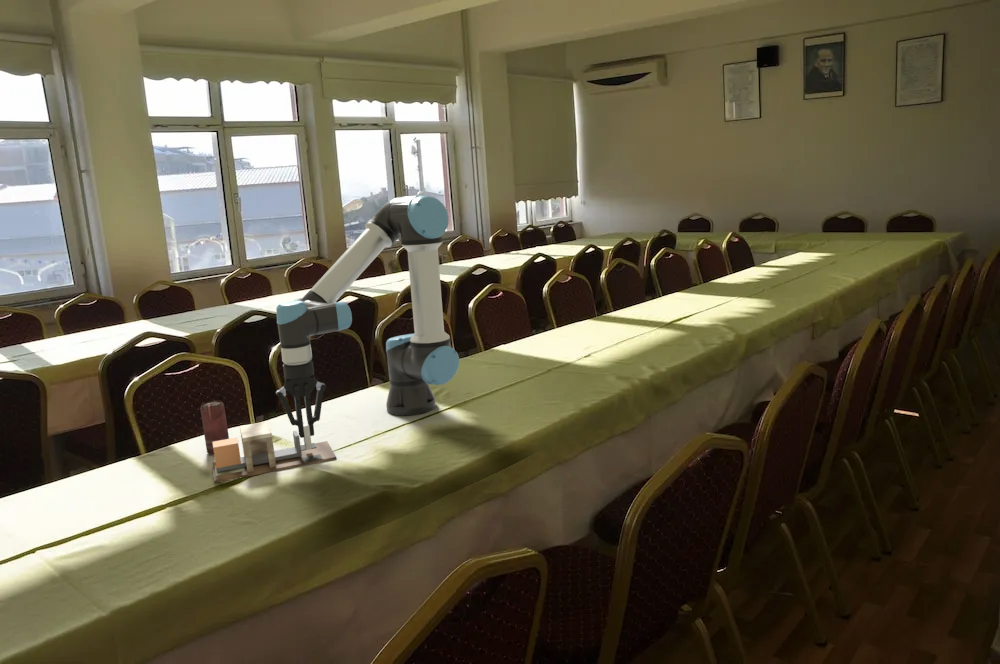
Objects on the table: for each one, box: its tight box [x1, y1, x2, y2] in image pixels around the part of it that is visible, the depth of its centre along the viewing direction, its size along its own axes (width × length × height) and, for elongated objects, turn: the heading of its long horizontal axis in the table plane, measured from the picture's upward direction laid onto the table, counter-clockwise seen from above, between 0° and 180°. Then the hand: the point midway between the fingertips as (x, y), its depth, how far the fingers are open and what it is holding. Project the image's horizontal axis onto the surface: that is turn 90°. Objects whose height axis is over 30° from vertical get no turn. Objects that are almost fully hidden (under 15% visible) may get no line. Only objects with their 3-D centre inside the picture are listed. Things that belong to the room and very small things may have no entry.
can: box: [199, 400, 230, 456], centre depth 213 cm, size 6×6×14 cm
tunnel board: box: [212, 420, 337, 483], centre depth 203 cm, size 30×14×10 cm, turn 112°
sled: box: [213, 430, 302, 472], centre depth 202 cm, size 21×5×6 cm, turn 112°
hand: (308, 447), depth 206 cm, fingers closed
